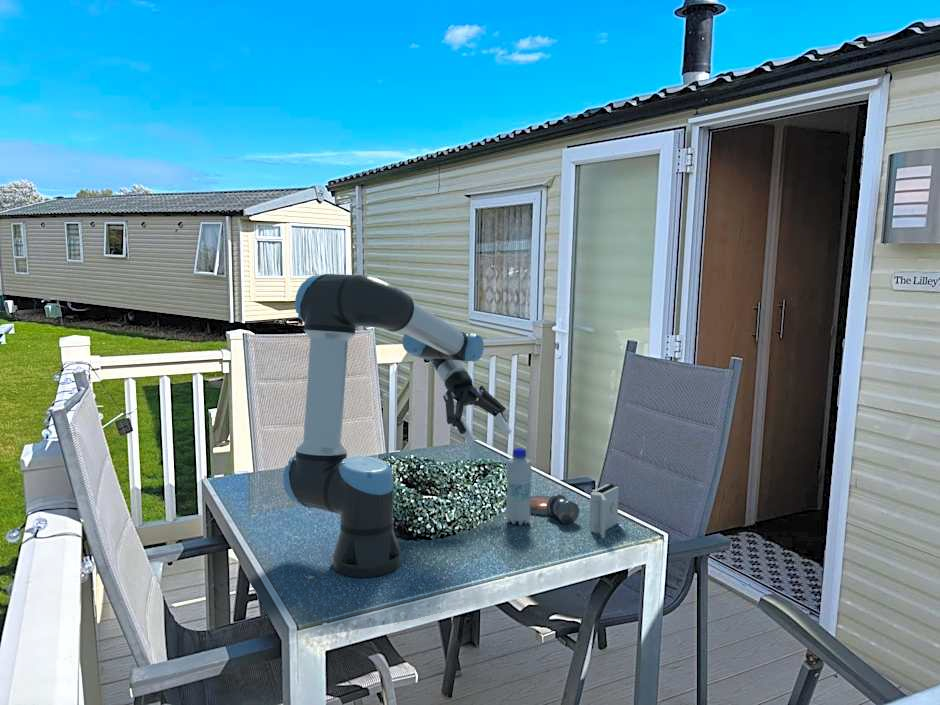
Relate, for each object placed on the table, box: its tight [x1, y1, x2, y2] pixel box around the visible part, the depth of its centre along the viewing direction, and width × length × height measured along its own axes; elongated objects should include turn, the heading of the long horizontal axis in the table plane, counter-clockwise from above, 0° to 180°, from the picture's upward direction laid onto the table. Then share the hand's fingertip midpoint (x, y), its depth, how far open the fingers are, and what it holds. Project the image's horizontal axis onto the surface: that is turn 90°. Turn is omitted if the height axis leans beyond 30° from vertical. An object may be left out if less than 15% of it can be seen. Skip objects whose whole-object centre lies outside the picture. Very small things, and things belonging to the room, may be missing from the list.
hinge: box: [589, 483, 620, 539], centre depth 174 cm, size 14×5×10 cm, turn 153°
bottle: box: [505, 447, 533, 526], centre depth 178 cm, size 7×7×20 cm
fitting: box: [530, 493, 580, 525], centre depth 187 cm, size 21×14×6 cm
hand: (490, 438), depth 185 cm, fingers open, 13 cm apart
